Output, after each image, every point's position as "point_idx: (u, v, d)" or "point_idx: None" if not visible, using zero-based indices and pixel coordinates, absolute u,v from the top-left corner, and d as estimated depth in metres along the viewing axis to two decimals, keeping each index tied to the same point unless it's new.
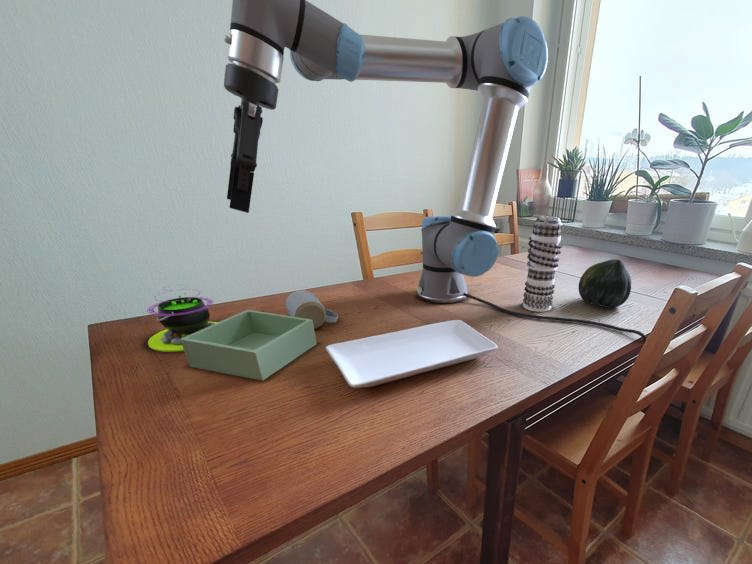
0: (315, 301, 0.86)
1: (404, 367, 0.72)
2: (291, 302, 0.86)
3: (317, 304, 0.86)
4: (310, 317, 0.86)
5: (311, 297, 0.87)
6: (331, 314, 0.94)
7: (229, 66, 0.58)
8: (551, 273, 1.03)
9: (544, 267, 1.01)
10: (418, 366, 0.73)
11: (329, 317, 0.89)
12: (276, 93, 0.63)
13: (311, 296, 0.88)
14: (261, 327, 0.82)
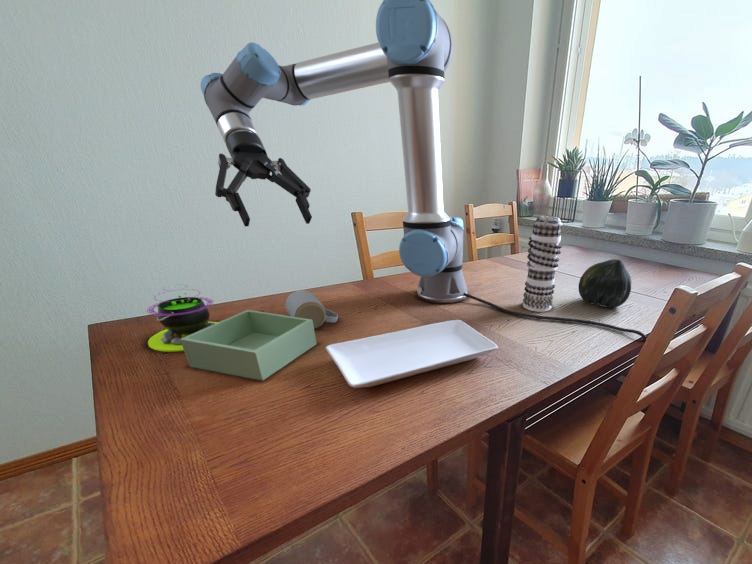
0: (315, 301, 0.86)
1: (404, 367, 0.72)
2: (291, 302, 0.86)
3: (317, 304, 0.86)
4: (310, 317, 0.86)
5: (311, 297, 0.87)
6: (331, 314, 0.94)
7: None
8: (551, 273, 1.03)
9: (544, 267, 1.01)
10: (418, 366, 0.73)
11: (329, 317, 0.89)
12: (239, 135, 0.83)
13: (311, 296, 0.88)
14: (261, 327, 0.82)
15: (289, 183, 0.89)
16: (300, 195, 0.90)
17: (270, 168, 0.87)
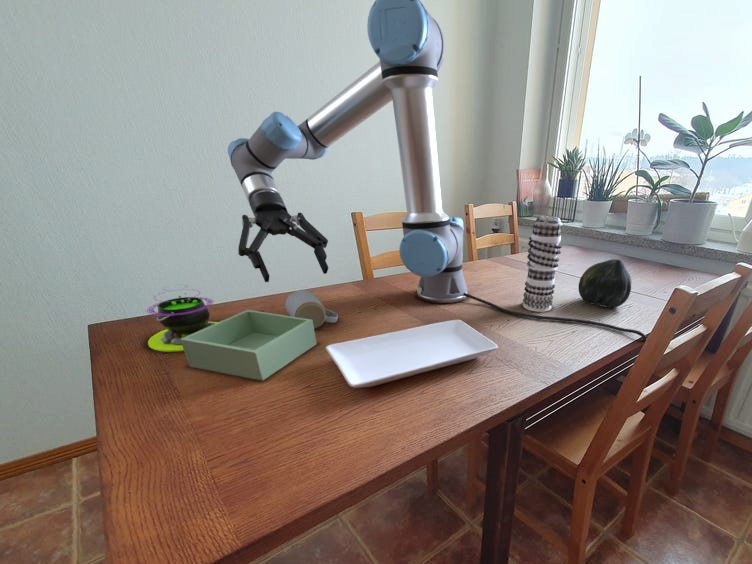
0: (315, 301, 0.86)
1: (404, 367, 0.72)
2: (291, 302, 0.86)
3: (317, 304, 0.86)
4: (310, 317, 0.86)
5: (311, 297, 0.87)
6: (331, 314, 0.94)
7: None
8: (551, 273, 1.03)
9: (544, 267, 1.01)
10: (418, 366, 0.73)
11: (329, 317, 0.89)
12: (261, 196, 0.88)
13: (311, 296, 0.88)
14: (261, 327, 0.82)
15: (307, 236, 0.93)
16: (317, 247, 0.93)
17: (289, 224, 0.91)
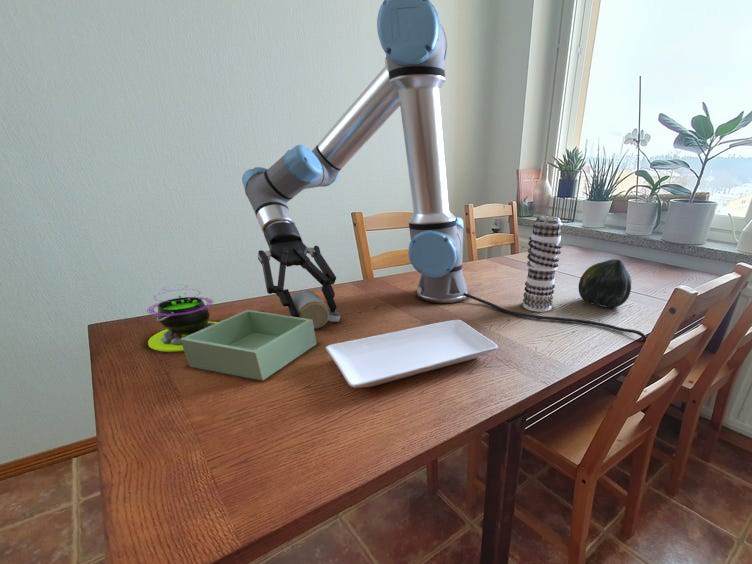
0: (318, 300, 0.86)
1: (404, 367, 0.72)
2: (294, 302, 0.86)
3: (321, 303, 0.86)
4: (314, 316, 0.86)
5: (314, 297, 0.87)
6: (333, 313, 0.94)
7: None
8: (551, 273, 1.03)
9: (544, 267, 1.01)
10: (418, 366, 0.73)
11: (332, 316, 0.90)
12: (276, 227, 0.86)
13: (314, 296, 0.88)
14: (261, 327, 0.82)
15: (317, 272, 0.90)
16: (325, 285, 0.89)
17: (305, 255, 0.89)
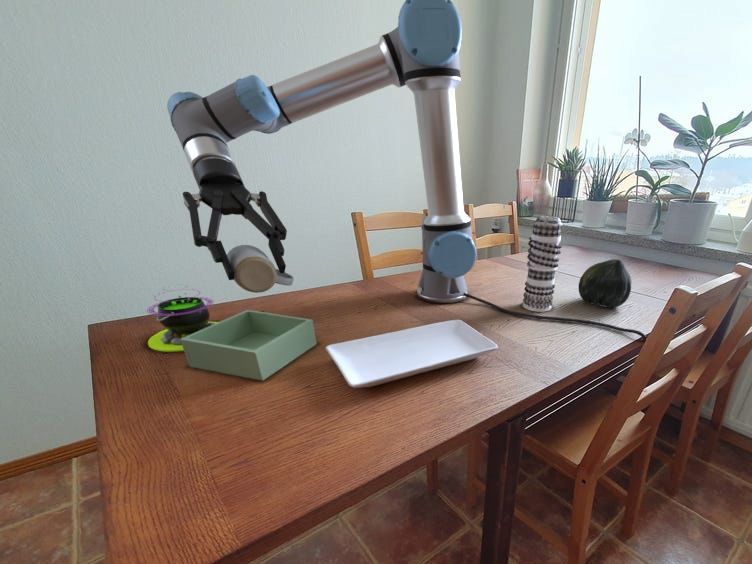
0: (261, 256, 0.69)
1: (404, 367, 0.72)
2: (231, 258, 0.69)
3: (264, 260, 0.69)
4: (255, 276, 0.69)
5: (257, 252, 0.70)
6: (285, 276, 0.77)
7: None
8: (551, 273, 1.03)
9: (544, 267, 1.01)
10: (418, 366, 0.73)
11: (281, 278, 0.73)
12: (207, 163, 0.68)
13: (257, 251, 0.71)
14: (261, 327, 0.82)
15: (262, 222, 0.72)
16: (272, 239, 0.72)
17: (246, 201, 0.71)
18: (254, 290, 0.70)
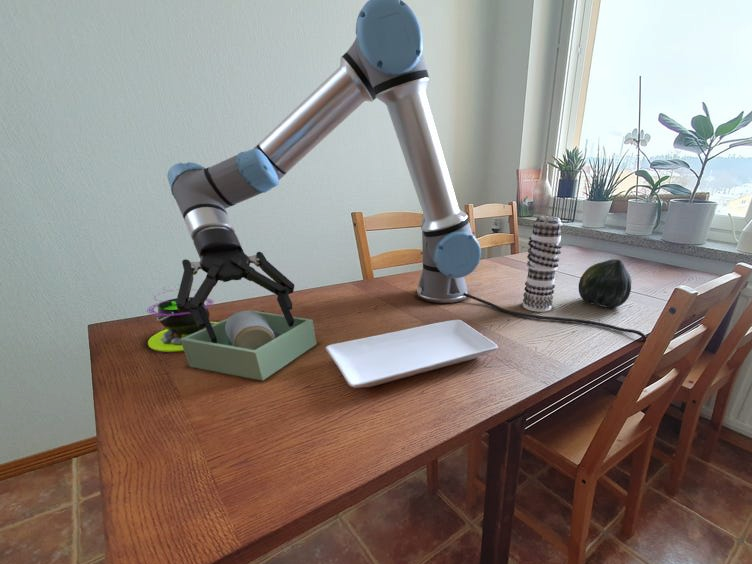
0: (260, 324, 0.71)
1: (404, 367, 0.72)
2: (231, 326, 0.71)
3: (263, 328, 0.71)
4: (255, 344, 0.71)
5: (256, 319, 0.72)
6: None
7: None
8: (551, 273, 1.03)
9: (544, 267, 1.01)
10: (418, 366, 0.73)
11: None
12: (207, 234, 0.71)
13: (256, 318, 0.73)
14: None
15: (268, 282, 0.76)
16: (281, 295, 0.76)
17: (245, 267, 0.74)
18: None
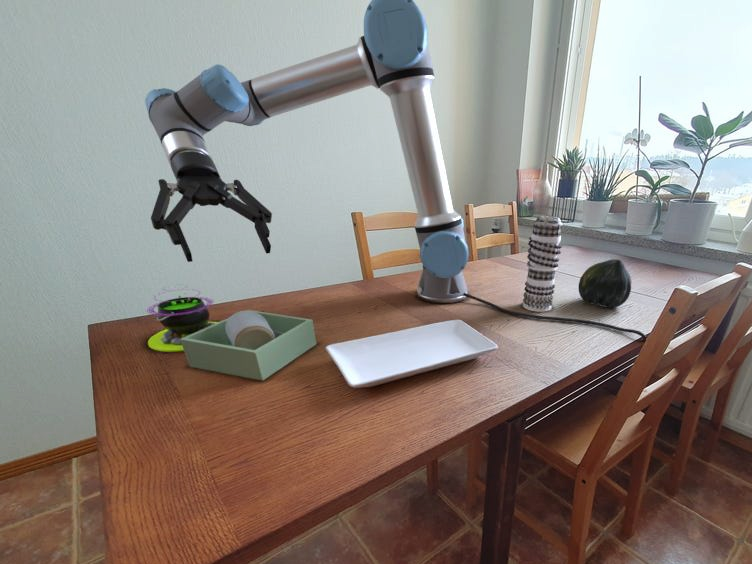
0: (260, 324, 0.71)
1: (404, 367, 0.72)
2: (231, 326, 0.71)
3: (263, 328, 0.71)
4: (254, 344, 0.71)
5: (256, 319, 0.72)
6: None
7: None
8: (551, 273, 1.03)
9: (544, 267, 1.01)
10: (418, 366, 0.73)
11: None
12: (183, 156, 0.72)
13: (256, 318, 0.73)
14: None
15: (245, 208, 0.77)
16: (258, 221, 0.77)
17: (222, 192, 0.75)
18: None
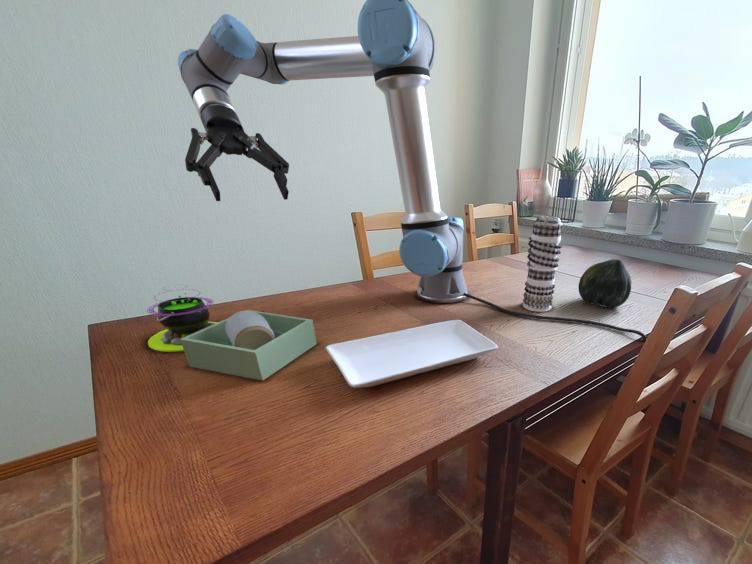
0: (260, 324, 0.71)
1: (404, 367, 0.72)
2: (231, 326, 0.71)
3: (263, 328, 0.71)
4: (254, 344, 0.71)
5: (256, 319, 0.72)
6: None
7: None
8: (551, 273, 1.03)
9: (544, 267, 1.01)
10: (418, 366, 0.73)
11: None
12: (212, 109, 0.81)
13: (256, 318, 0.73)
14: None
15: (266, 158, 0.86)
16: (277, 170, 0.86)
17: (245, 142, 0.84)
18: None
